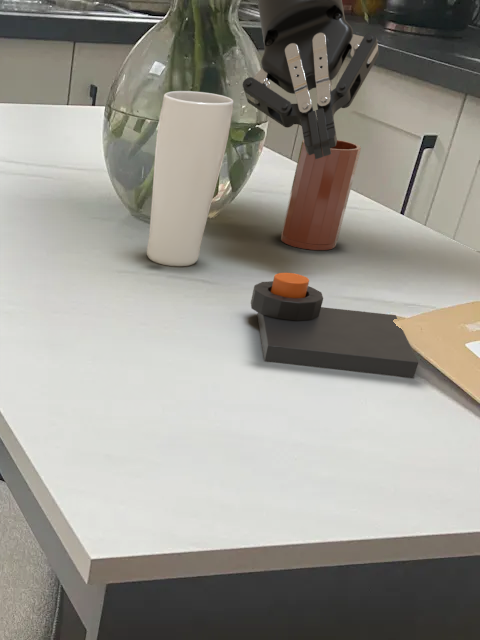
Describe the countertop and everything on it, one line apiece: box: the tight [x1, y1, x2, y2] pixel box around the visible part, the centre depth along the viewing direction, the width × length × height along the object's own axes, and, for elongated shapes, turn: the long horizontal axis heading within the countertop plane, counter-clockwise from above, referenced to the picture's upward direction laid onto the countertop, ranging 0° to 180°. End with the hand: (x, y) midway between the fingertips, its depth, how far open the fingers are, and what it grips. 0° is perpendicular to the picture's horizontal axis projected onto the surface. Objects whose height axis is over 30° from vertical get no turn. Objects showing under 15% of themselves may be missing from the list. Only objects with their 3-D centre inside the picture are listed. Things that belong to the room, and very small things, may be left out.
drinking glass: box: [146, 90, 235, 267], centre depth 105 cm, size 7×7×15 cm
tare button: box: [271, 272, 310, 298], centre depth 94 cm, size 3×3×2 cm
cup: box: [280, 139, 362, 251], centre depth 116 cm, size 6×6×10 cm
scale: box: [250, 280, 419, 379], centre depth 92 cm, size 13×13×3 cm
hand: (322, 152), depth 101 cm, fingers closed
